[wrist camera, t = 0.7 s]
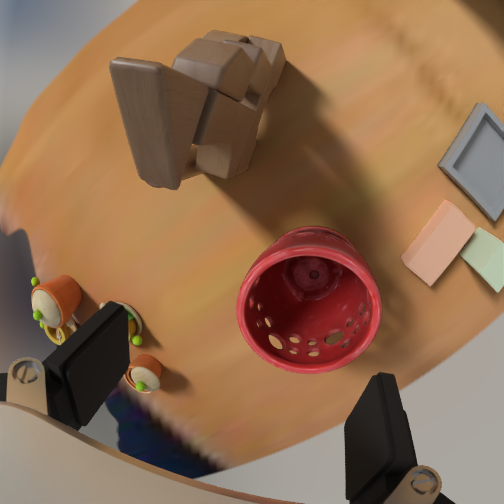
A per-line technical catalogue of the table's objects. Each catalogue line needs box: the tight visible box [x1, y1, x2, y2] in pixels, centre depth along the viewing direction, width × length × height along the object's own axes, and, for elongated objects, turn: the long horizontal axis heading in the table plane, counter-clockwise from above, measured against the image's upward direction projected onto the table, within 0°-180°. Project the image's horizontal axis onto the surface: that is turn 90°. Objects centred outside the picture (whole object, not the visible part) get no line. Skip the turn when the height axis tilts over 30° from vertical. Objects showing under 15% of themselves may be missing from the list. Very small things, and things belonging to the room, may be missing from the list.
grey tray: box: [437, 103, 504, 221], centre depth 28 cm, size 10×10×2 cm
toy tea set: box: [31, 275, 162, 394], centre depth 43 cm, size 26×16×10 cm, turn 73°
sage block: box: [459, 227, 504, 293], centre depth 30 cm, size 4×4×6 cm
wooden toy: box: [109, 30, 286, 190], centre depth 21 cm, size 16×7×25 cm, turn 161°
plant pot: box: [236, 226, 382, 374], centre depth 32 cm, size 13×13×12 cm
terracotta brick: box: [400, 199, 476, 287], centre depth 33 cm, size 9×4×3 cm, turn 147°
